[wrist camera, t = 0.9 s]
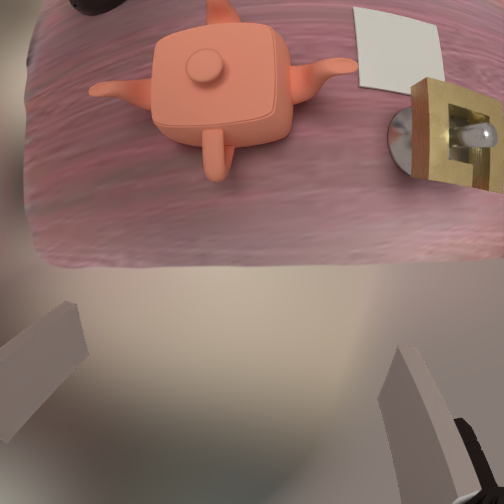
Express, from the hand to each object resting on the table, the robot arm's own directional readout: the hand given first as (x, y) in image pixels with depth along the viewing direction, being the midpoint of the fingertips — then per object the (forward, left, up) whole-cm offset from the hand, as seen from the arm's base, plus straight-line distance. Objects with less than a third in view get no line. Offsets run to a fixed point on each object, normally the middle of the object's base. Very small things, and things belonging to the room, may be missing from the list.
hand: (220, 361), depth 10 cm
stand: (-12, +18, -26) cm, 34 cm away
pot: (-17, -5, -26) cm, 31 cm away
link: (-12, +18, -18) cm, 28 cm away
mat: (-24, +16, -26) cm, 39 cm away
